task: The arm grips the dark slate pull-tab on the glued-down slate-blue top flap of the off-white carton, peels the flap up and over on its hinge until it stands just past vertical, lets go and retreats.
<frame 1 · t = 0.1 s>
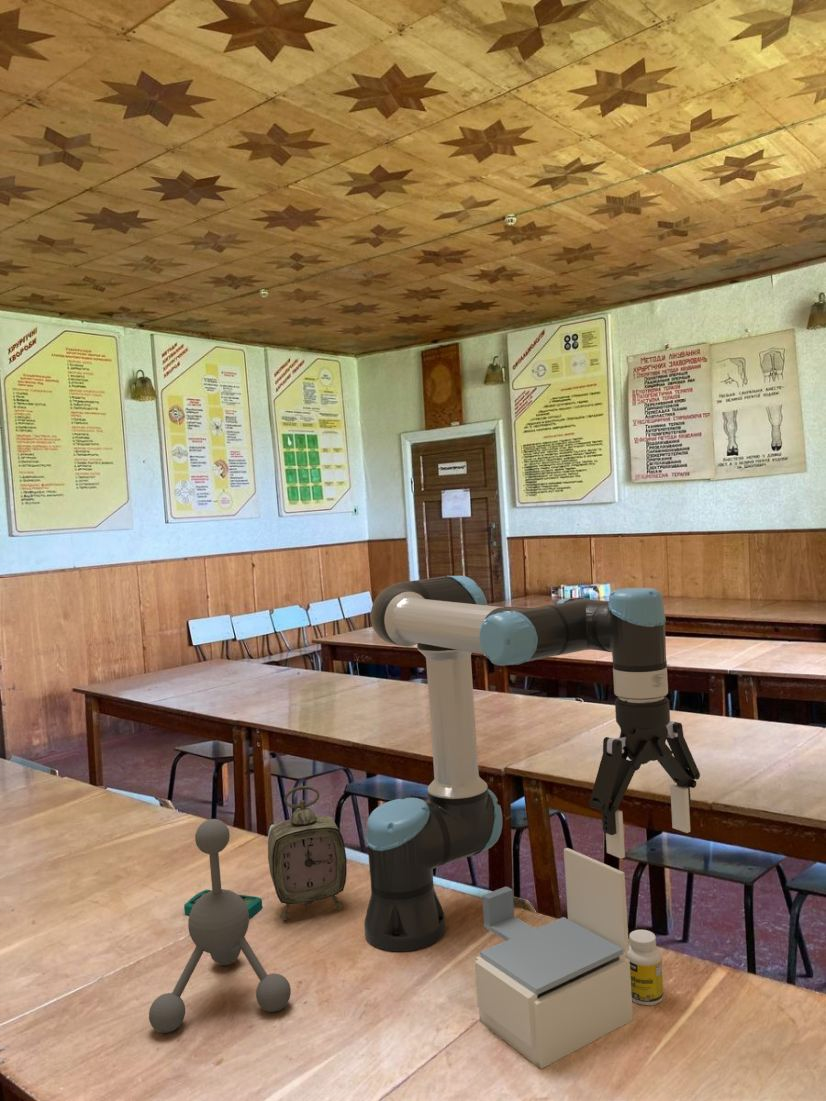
hand: (649, 842, 124), 28 cm above the table, fingers open, 13 cm apart
carton: (555, 1020, 129), on the table
digital multimeter: (223, 914, 173), on the table
flap: (535, 929, 132), point 13 cm above the table, hinge at 0.0°
supplement bottle: (645, 997, 134), on the table
molecular model: (213, 1006, 140), on the table
tabletop clock: (310, 910, 171), on the table
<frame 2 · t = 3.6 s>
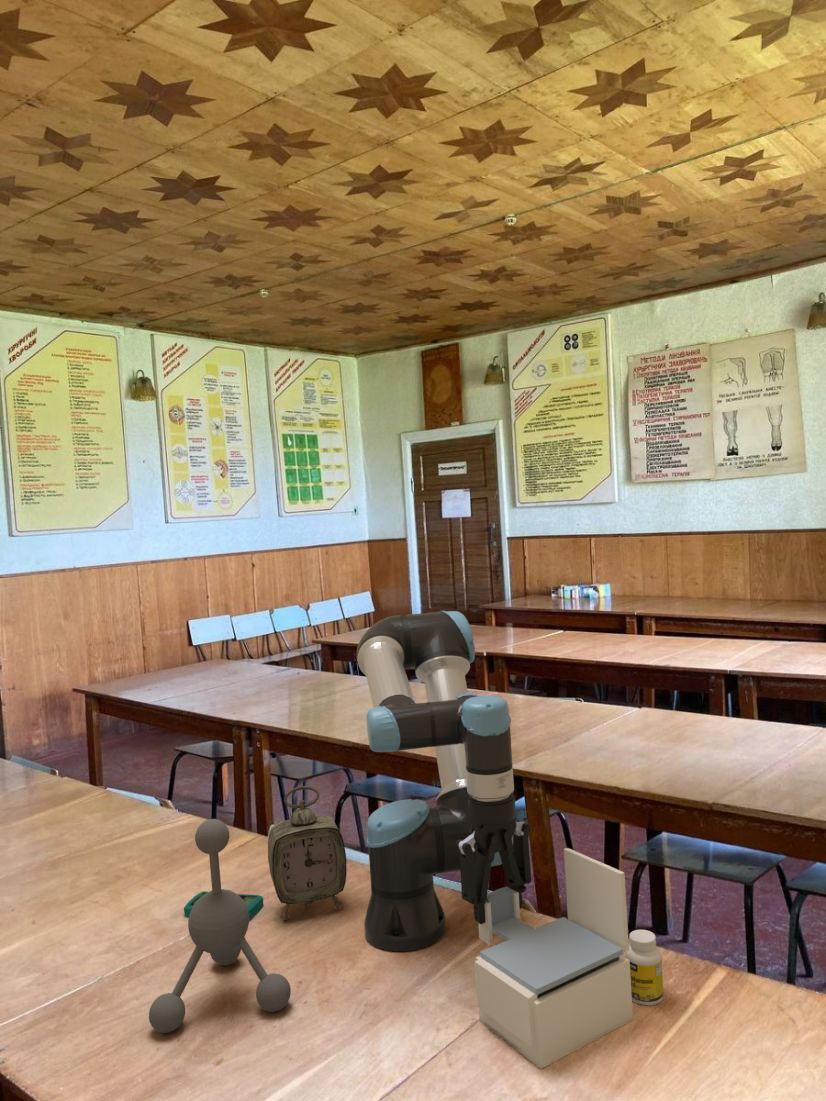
hand: (500, 934, 139), 8 cm above the table, fingers closed on flap, 5 cm apart
flap: (535, 929, 132), point 13 cm above the table, hinge at 0.0°, touching gripper
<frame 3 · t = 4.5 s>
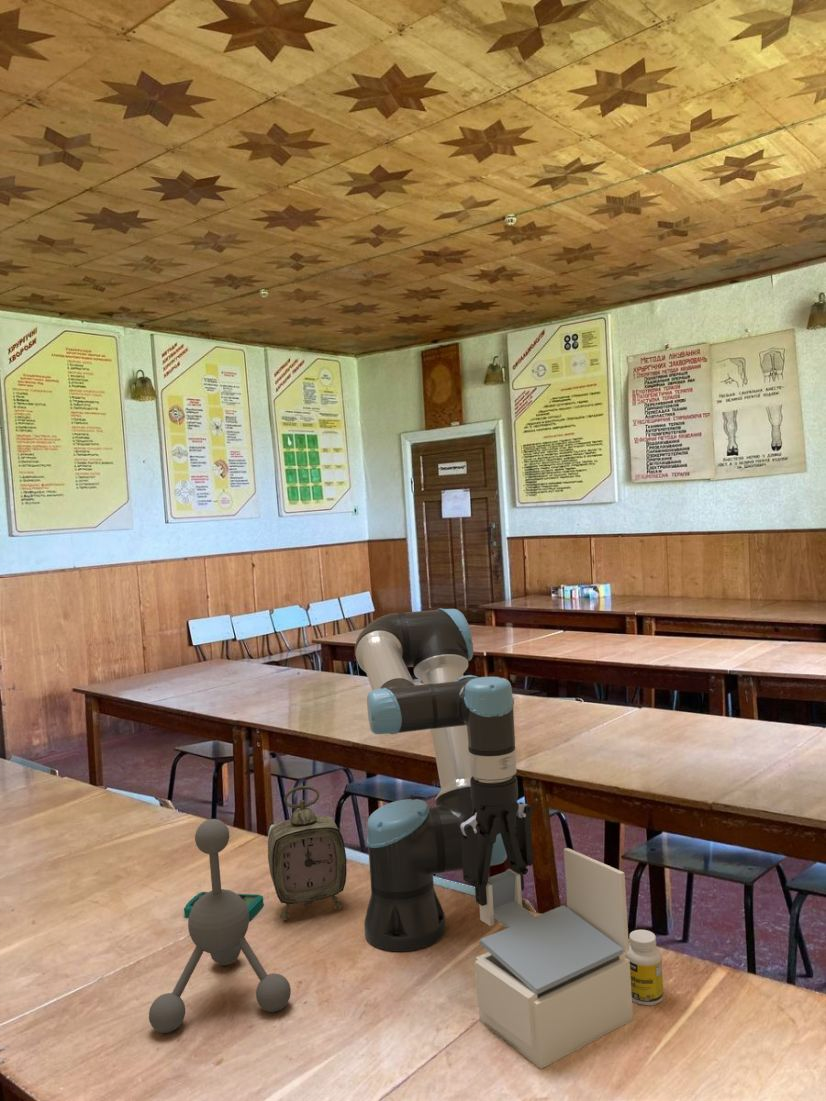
hand: (501, 916, 139), 12 cm above the table, fingers closed on flap, 5 cm apart
flap: (536, 921, 131), point 14 cm above the table, hinge at 8.9°, touching gripper
everything else where it was.
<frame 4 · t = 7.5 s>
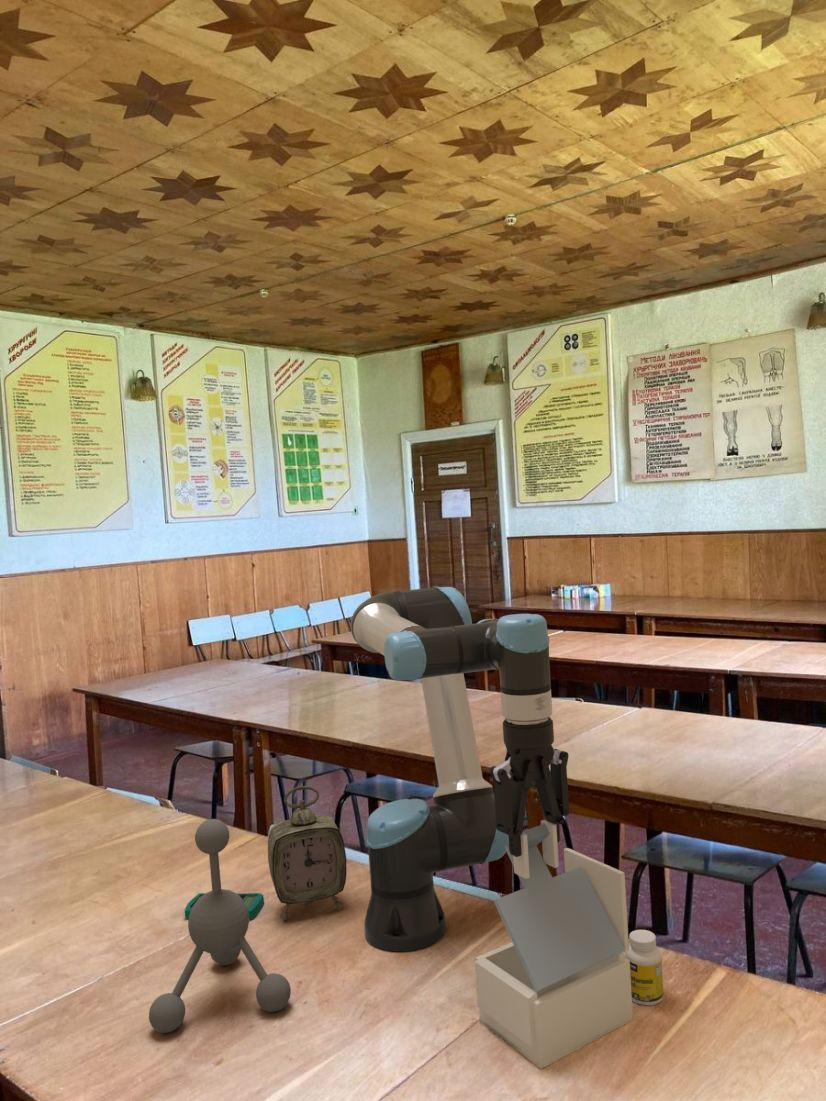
hand: (536, 869, 130), 23 cm above the table, fingers closed on flap, 5 cm apart
flap: (555, 897, 127), point 20 cm above the table, hinge at 49.5°, touching gripper
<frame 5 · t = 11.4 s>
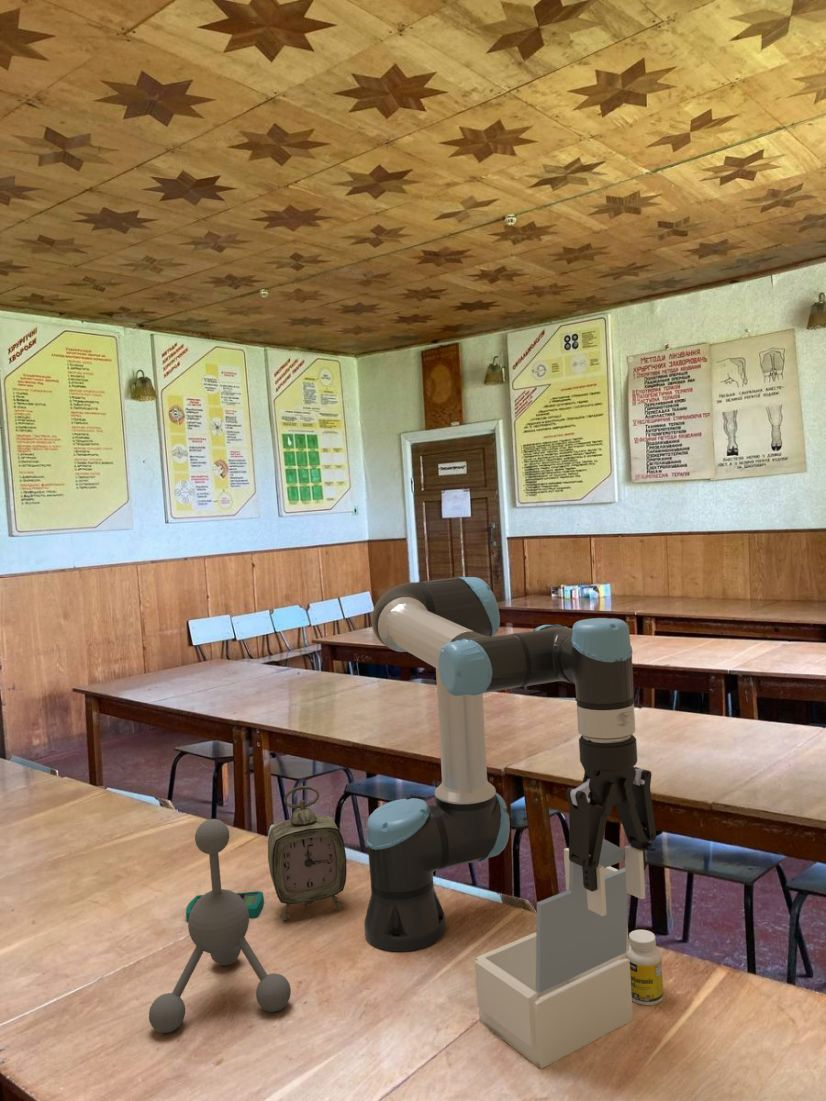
hand: (616, 903, 116), 23 cm above the table, fingers open, 7 cm apart
flap: (595, 913, 120), point 20 cm above the table, hinge at 96.3°
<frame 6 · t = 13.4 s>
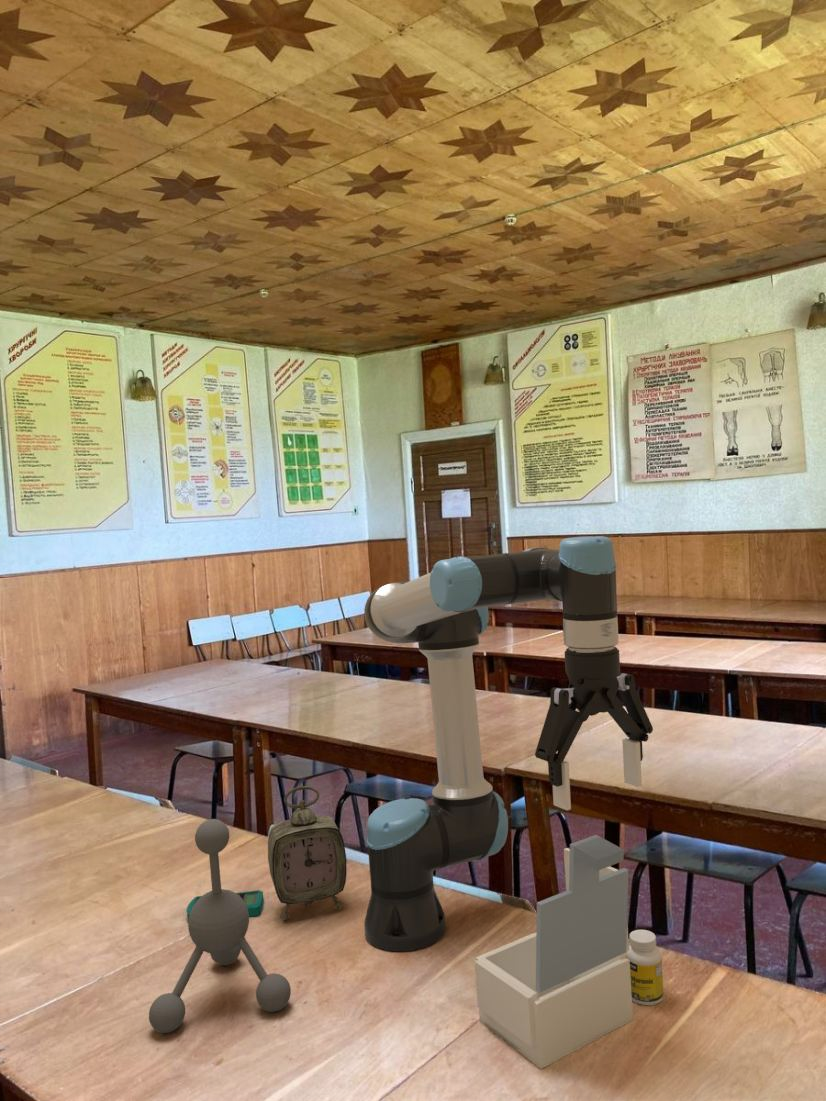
hand: (598, 795, 122), 36 cm above the table, fingers open, 13 cm apart
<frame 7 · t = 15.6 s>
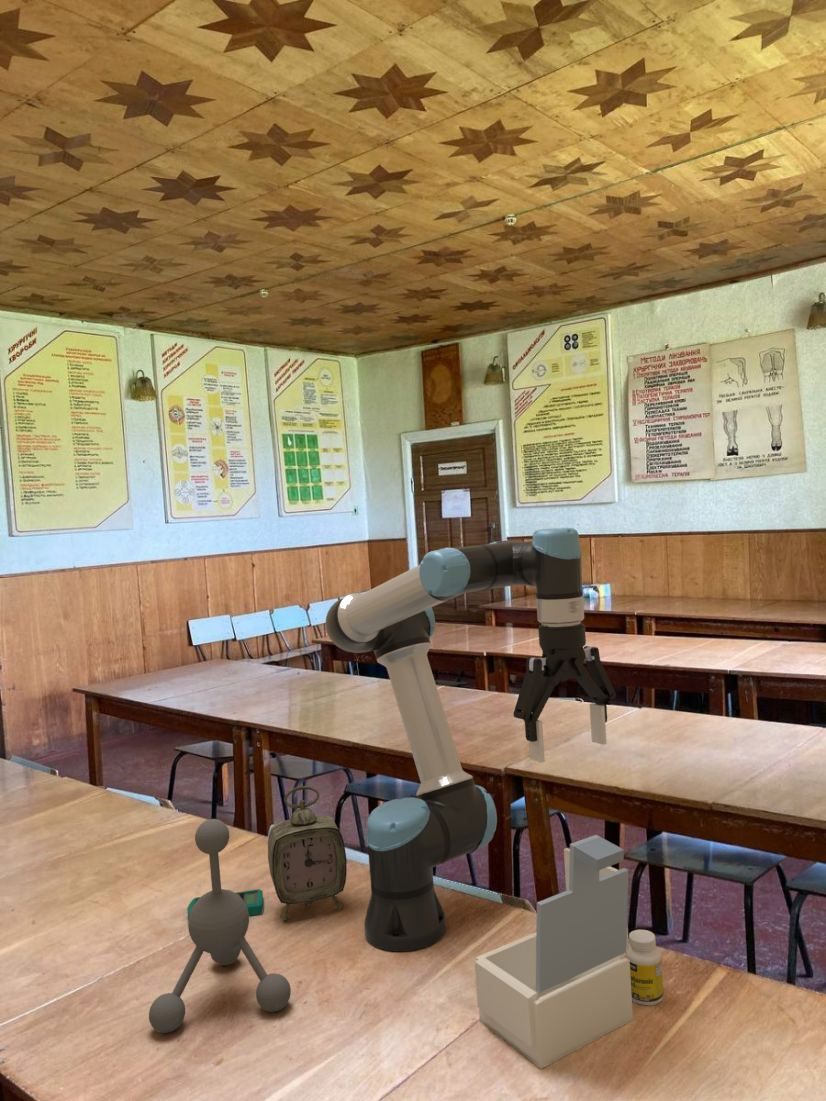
hand: (569, 751, 141), 37 cm above the table, fingers open, 13 cm apart
at the end: flap at +96° (first picture: +0°); the gripper is holding nothing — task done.
